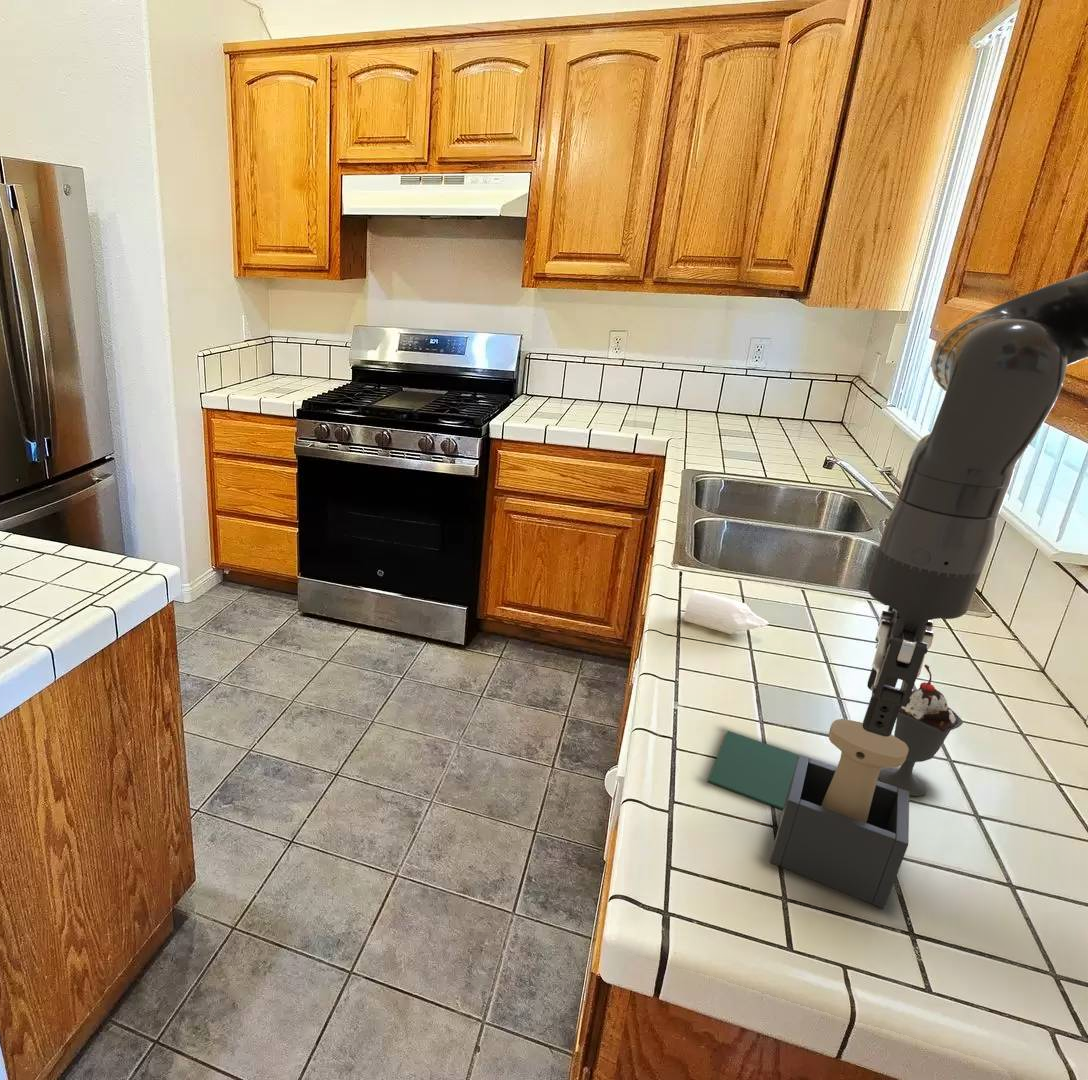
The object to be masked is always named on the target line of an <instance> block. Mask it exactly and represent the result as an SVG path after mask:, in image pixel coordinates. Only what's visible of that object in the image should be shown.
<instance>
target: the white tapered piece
mask: <svg viewBox="0 0 1088 1080" xmlns="http://www.w3.org/2000/svg"><path fill="white" fill-rule="evenodd" d="M683 614H684V615H683V620H684V621H685V622H686V623H691V624H695V625H698V626H701V627H705V628H708V629H711V630H715V631H718V632H720V633H724V634H728V635H733V634H736V633H738V632H746V631H749V630H754V629H758V628H760V627H761V628H762V627H766V626H769V621H767V620H765V618H762V617H761V616H758V615H757V614H755V613H754V612H753V611H752V610H751V608H750V607H749V606H748V605H747V604H746V603H744V602H741V601H737V600H734V599H730V598H727V597H723V596H720V595H717V594H712V593H708V592H703V591H698V590H693V591H692V592H691V594H690V596H689V598H688V601H687V603H686V606H685V609H684V613H683Z"/></svg>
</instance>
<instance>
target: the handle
mask: <svg viewBox="0 0 1088 1080" xmlns="http://www.w3.org/2000/svg"><path fill="white" fill-rule="evenodd" d="M828 740H829V741H830V743H831V744H832V745H833V746H834V747H836V748H837V749H839V750H840V751H841V753H840V758H839V761H838V764H837V766H836V767H837V769H836V771H835V774H834V776H833V779H832V781H831V783H830V786H829V788H828V790H827V793H826V795H825V797H824V800H823V802H822V805H821V807H824V808H827V809H829V810H832V811H835V812H838V813H840V814H843V815H846V816H848V817H851V818H854V819H857V820H859V821H862V822H865V823H866V822H867V819H868V814H869V810H870V806H871V802H872V798H873V794H874V790H875V787H876V783H877V781H878V780H879V778H878V776H879V773H880V771H881V769H883V768H894V769H896V768H900V767H901V765H902V764H903V763H904V762H905V759H906V757H907V754H908V751H909V749H908V746H907V745H906V743H904V742H903V741H901V740H900V739H898V738H896V737H895V736H894V735H893V734H891V735H890V736H888V737H884V736H881V735H878V734H874V733H871V732H868V731H866V730H864V729H863V722H862V721H856V720H851V719H846V718H838V719H836V720H833V722H831V725H830V728H829V731H828Z"/></svg>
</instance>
